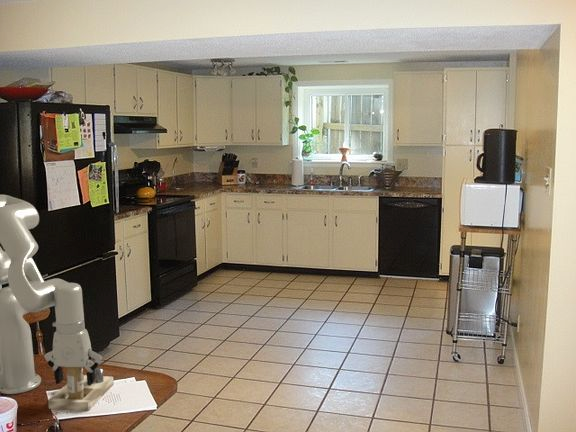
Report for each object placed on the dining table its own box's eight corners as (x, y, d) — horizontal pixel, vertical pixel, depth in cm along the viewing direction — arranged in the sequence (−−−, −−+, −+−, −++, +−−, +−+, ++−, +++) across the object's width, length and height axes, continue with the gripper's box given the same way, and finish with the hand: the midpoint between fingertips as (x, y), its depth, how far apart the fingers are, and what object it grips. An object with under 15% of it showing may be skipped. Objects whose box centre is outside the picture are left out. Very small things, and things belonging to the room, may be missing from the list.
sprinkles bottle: (86, 401, 180) (83, 357, 177) (70, 405, 177) (67, 361, 175) (82, 395, 184) (79, 352, 181) (66, 399, 181) (63, 355, 179)
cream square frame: (48, 408, 176) (46, 387, 175) (77, 382, 193) (75, 362, 192) (88, 410, 175) (86, 389, 174) (113, 384, 191) (112, 364, 190)
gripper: (35, 330, 174) (40, 387, 177) (93, 332, 172) (97, 390, 175) (49, 321, 181) (54, 375, 184) (105, 323, 179) (109, 378, 182)
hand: (75, 382), depth 179 cm, fingers open, 9 cm apart
